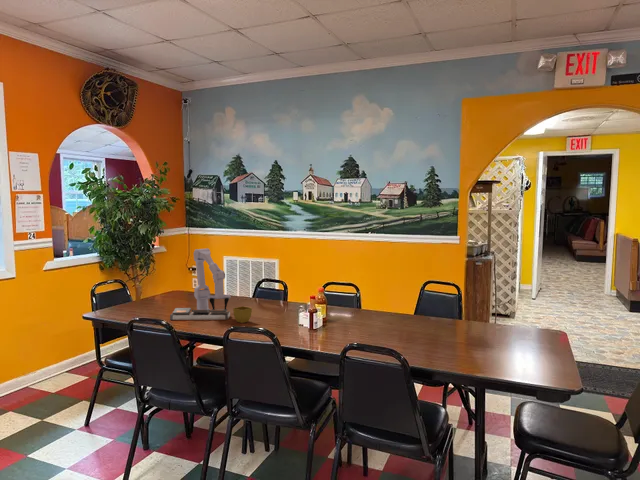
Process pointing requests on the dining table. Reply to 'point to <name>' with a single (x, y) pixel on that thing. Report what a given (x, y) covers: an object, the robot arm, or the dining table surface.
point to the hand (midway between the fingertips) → (219, 309)
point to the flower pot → (242, 314)
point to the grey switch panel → (201, 316)
